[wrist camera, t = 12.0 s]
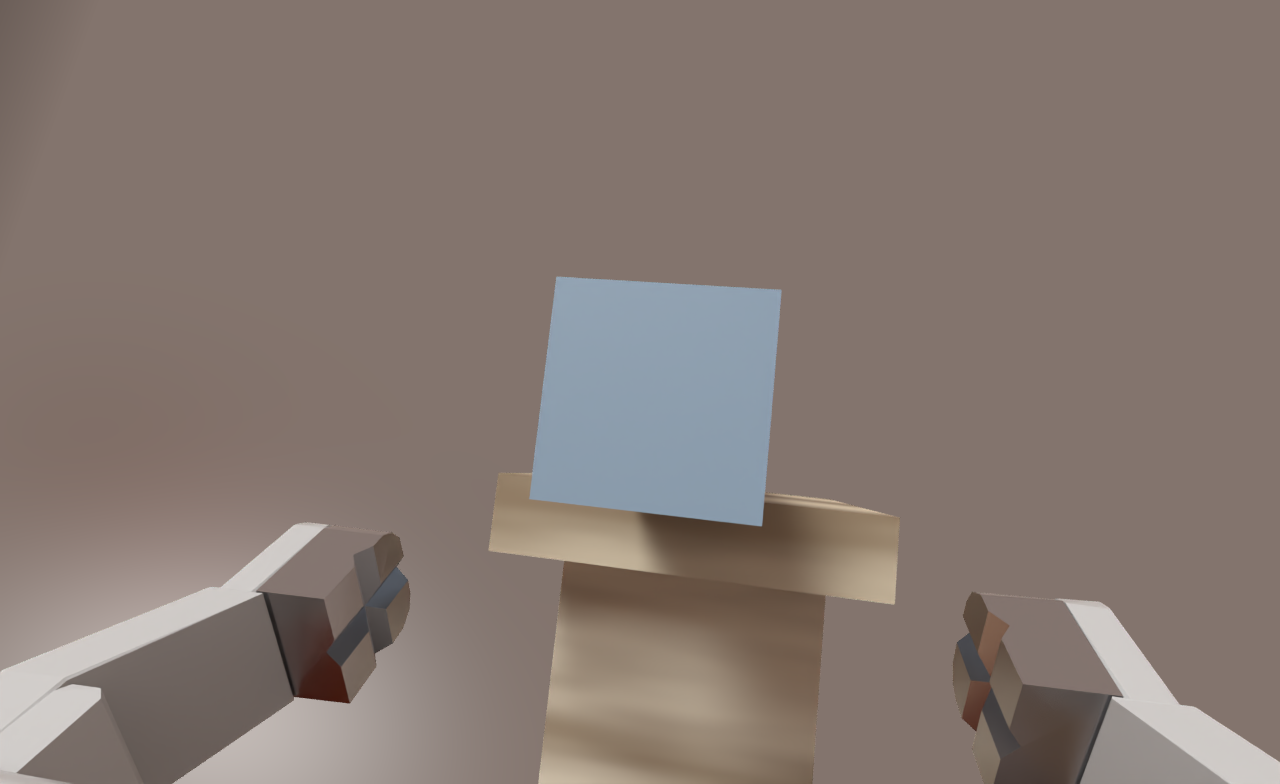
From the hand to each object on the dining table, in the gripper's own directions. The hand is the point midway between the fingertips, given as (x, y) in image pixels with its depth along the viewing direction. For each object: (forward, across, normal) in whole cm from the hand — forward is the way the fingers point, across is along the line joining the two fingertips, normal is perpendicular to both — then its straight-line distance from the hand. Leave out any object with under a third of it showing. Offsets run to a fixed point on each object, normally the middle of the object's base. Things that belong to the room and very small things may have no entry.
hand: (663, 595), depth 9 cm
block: (+8, 0, -3) cm, 9 cm away
